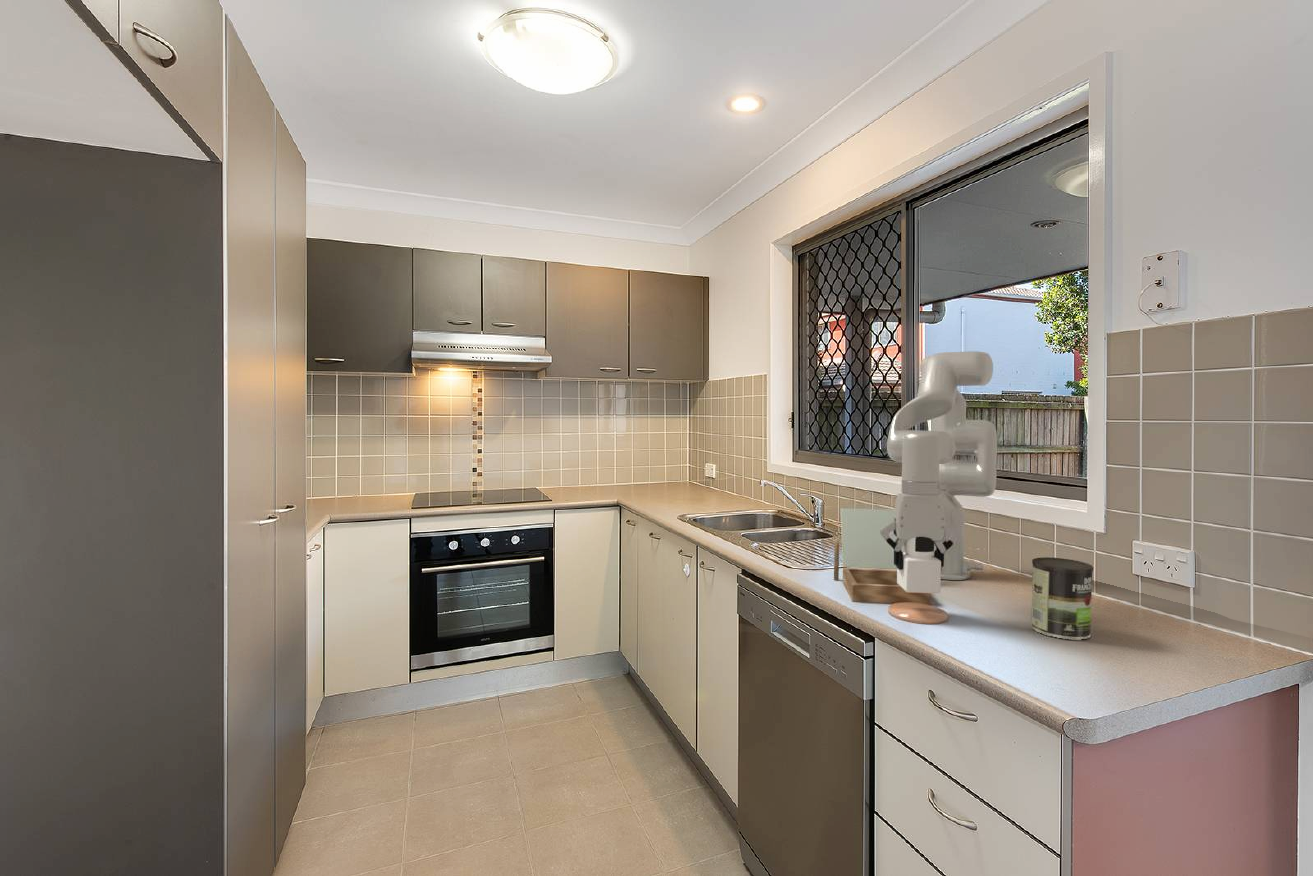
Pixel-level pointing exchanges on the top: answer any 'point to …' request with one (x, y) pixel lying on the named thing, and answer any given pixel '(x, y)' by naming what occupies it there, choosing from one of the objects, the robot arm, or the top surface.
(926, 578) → the medicine bottle
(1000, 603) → the top surface
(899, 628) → the top surface
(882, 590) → the frame
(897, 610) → the saucer
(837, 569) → the prop stake
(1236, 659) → the top surface
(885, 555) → the lid
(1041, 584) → the coffee can
